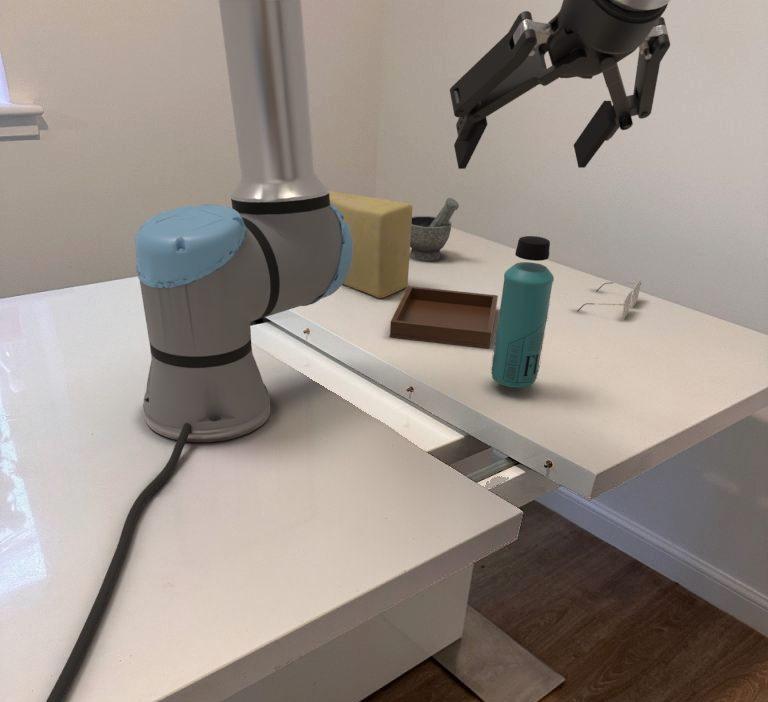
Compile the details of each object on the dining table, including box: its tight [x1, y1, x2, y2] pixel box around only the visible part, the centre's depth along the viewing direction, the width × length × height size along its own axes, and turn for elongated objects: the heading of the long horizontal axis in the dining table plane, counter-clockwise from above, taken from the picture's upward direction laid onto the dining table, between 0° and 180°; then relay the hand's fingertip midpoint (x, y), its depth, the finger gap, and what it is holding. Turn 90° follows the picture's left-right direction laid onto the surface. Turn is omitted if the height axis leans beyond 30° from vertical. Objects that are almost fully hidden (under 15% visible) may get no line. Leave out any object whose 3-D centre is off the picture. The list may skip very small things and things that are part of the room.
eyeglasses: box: [576, 280, 643, 319], centre depth 128 cm, size 14×8×4 cm, turn 152°
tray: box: [389, 285, 499, 349], centre depth 118 cm, size 18×16×3 cm
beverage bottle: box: [490, 235, 555, 388], centre depth 94 cm, size 6×7×20 cm
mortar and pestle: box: [409, 197, 460, 262], centre depth 145 cm, size 11×9×12 cm
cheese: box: [329, 190, 413, 299], centre depth 129 cm, size 22×10×15 cm, turn 56°
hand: (520, 156), depth 75 cm, fingers open, 13 cm apart
